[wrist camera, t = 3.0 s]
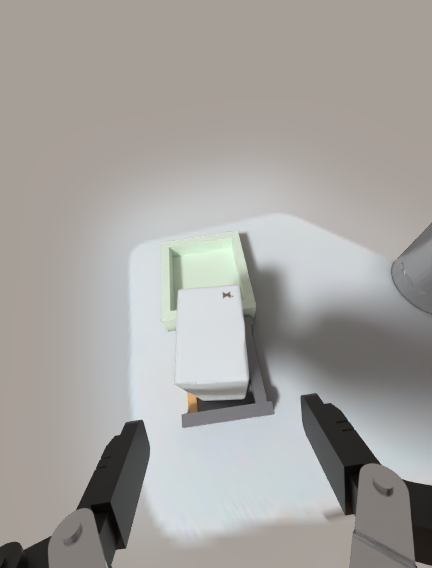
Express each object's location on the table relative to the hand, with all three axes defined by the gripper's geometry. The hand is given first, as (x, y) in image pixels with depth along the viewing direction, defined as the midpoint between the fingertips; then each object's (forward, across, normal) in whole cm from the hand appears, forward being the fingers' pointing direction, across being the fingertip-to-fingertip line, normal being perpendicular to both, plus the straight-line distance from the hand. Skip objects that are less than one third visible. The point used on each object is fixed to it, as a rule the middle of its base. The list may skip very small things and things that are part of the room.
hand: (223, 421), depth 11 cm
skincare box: (+12, 0, +5) cm, 12 cm away
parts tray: (+19, 0, -3) cm, 19 cm away
